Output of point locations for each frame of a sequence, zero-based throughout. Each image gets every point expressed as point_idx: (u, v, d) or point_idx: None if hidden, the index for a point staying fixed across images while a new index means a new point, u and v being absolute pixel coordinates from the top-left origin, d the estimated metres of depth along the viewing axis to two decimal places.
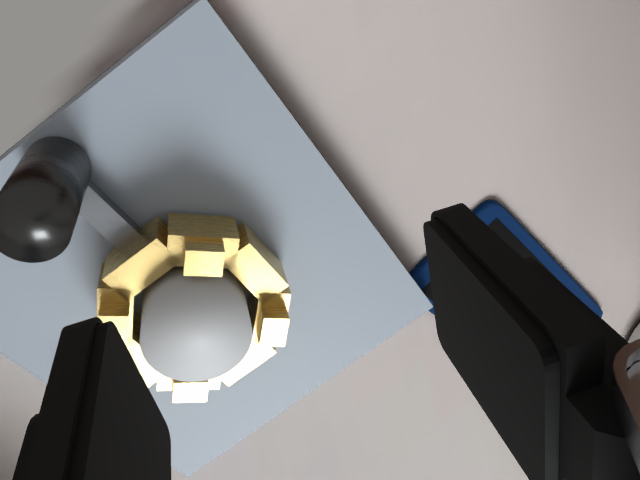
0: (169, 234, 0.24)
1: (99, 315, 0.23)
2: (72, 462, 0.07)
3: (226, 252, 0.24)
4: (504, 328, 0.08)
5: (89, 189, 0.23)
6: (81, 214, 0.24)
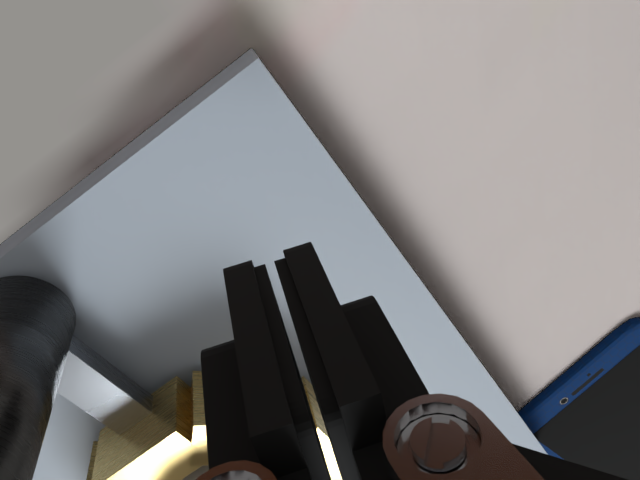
0: (195, 424, 0.15)
1: None
2: (284, 375, 0.07)
3: None
4: (311, 378, 0.08)
5: (71, 355, 0.15)
6: (59, 390, 0.15)
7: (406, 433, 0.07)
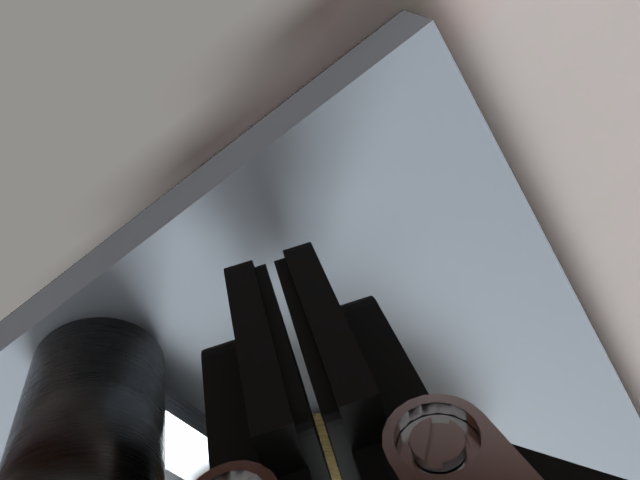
0: None
1: None
2: (285, 375, 0.07)
3: None
4: (311, 378, 0.08)
5: (166, 412, 0.12)
6: None
7: (406, 434, 0.07)
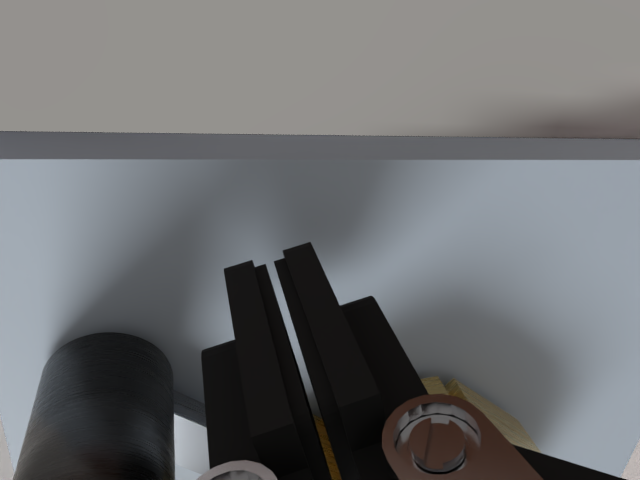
0: None
1: None
2: (285, 375, 0.07)
3: None
4: (310, 378, 0.08)
5: (178, 417, 0.12)
6: None
7: (406, 434, 0.07)
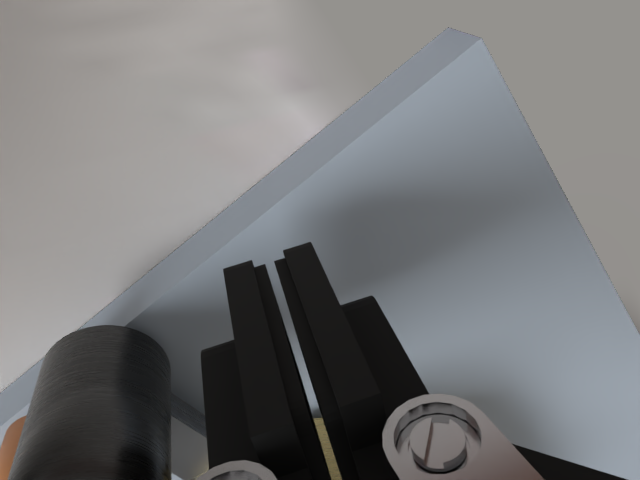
0: None
1: None
2: (284, 375, 0.07)
3: None
4: (311, 378, 0.08)
5: (172, 418, 0.12)
6: None
7: (406, 434, 0.07)
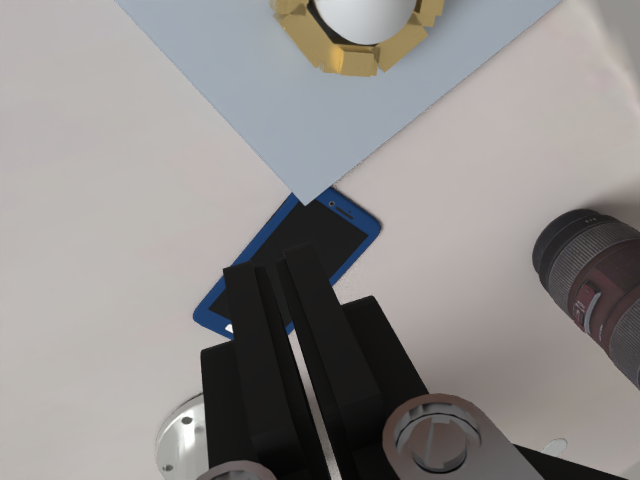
0: None
1: None
2: (284, 375, 0.07)
3: None
4: (311, 378, 0.08)
5: None
6: None
7: (406, 434, 0.07)
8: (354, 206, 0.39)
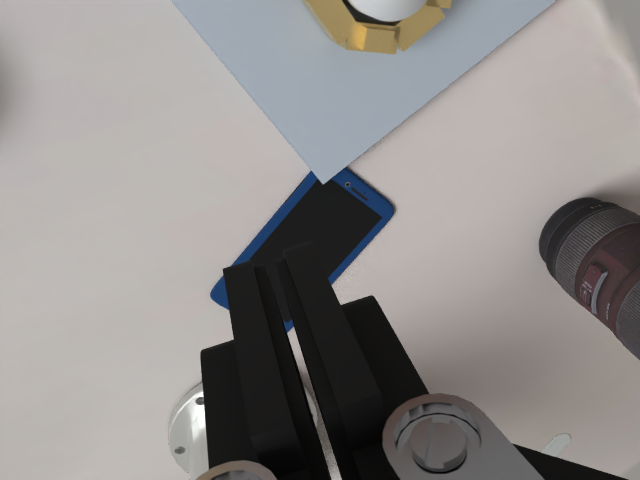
0: None
1: None
2: (284, 375, 0.07)
3: None
4: (311, 378, 0.08)
5: None
6: None
7: (407, 434, 0.07)
8: (369, 188, 0.40)
